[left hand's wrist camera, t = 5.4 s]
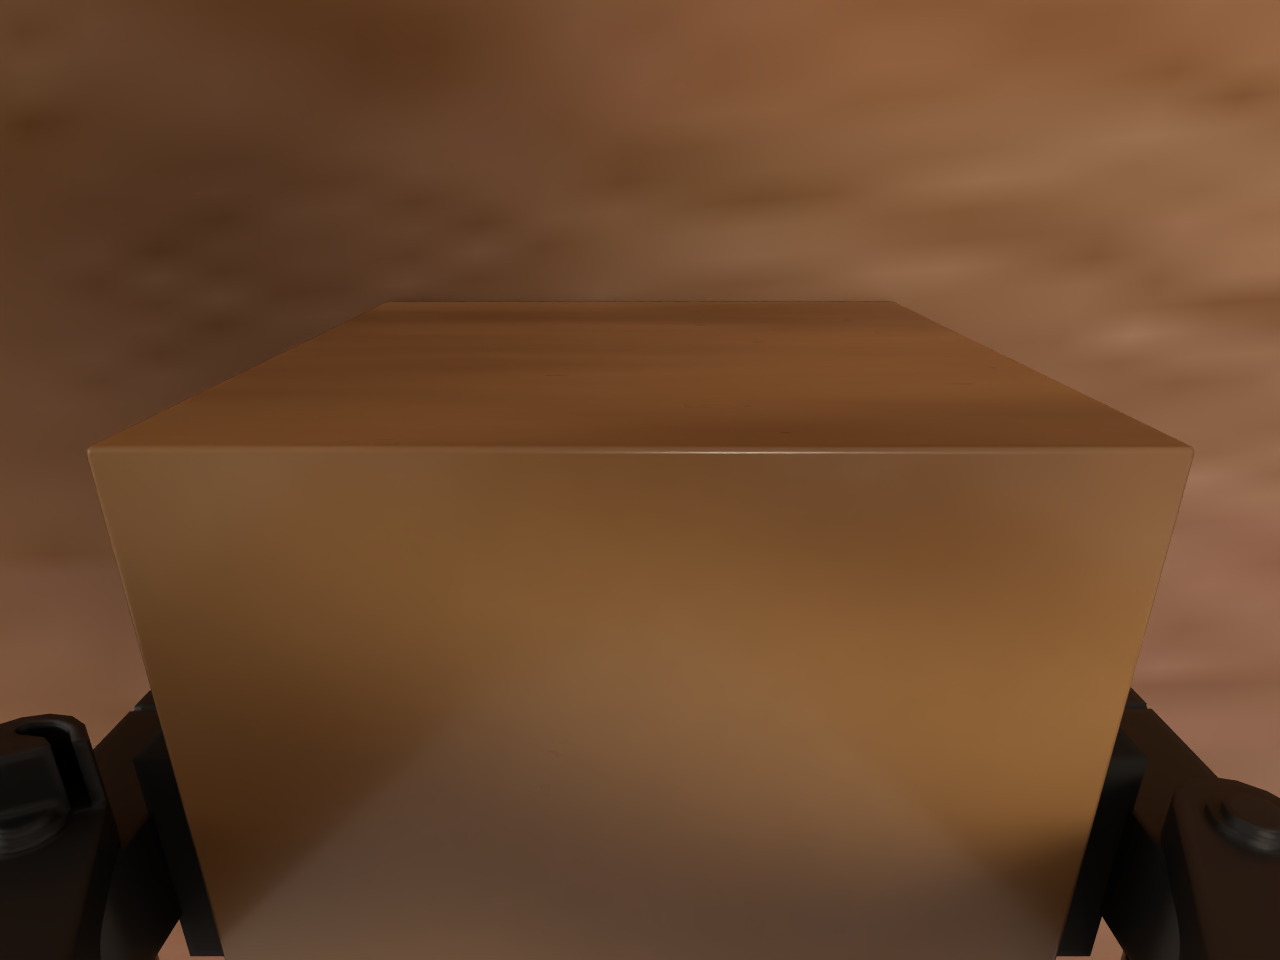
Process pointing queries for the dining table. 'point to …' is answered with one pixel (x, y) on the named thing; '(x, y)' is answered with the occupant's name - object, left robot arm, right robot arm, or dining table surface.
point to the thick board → (640, 632)
